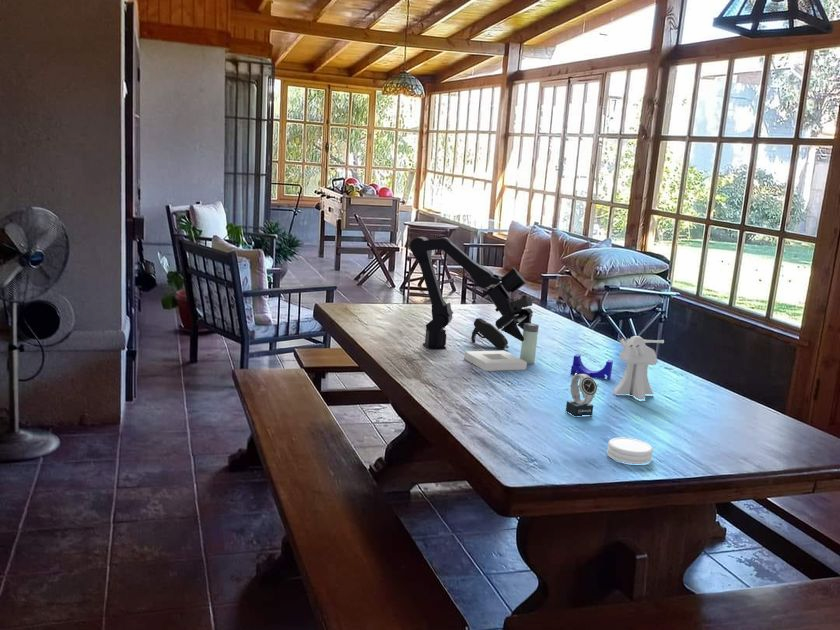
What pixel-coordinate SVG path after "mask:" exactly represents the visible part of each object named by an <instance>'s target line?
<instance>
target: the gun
mask: <svg viewBox="0 0 840 630" xmlns="http://www.w3.org/2000/svg"><path fill="white" fill-rule="evenodd" d="M473 326H474V328H473V330H472V333H471V336H470V337H471V342H472V343H476V338H477V336H478V337H479V338H480V339H486V340H487V341H488V342H489V343H490V344H492V345H493V346H494V347H495V348H496V349H497V350H500V351H503V350H505V349H507V350H508V349H509V347H510V346H509V345H508V344H509V341H508V339H507V338H506V337H505V335H504V334H503V333H502V331H501V330H500V329H499V330H498V328H497V327H496V326H495V325H493V324H491V323H489V322H487V321H486V320H484V319H483V318H480V317H479V318H475V320H474V321H473Z"/></svg>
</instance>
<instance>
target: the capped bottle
mask: <svg viewBox="0 0 840 630" xmlns="http://www.w3.org/2000/svg"><path fill="white" fill-rule="evenodd" d="M539 327H540V326H539V324H537V323H534V322H533V323H532V322H531V323H524V328H523V329H522V336H523V338H524V341H521V346H520V347H521V348H520V359H522V360H524V361H526V362H527V365H534V364H535V361H536V353H537V352H536V351H537V344H538V335H539V334H538V333H539Z"/></svg>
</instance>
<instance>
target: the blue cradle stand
mask: <svg viewBox="0 0 840 630" xmlns="http://www.w3.org/2000/svg"><path fill="white" fill-rule="evenodd" d="M581 357H582V356H581V354H578V353H577V354H574V355H573V361H572V365H571V369H570V375H572V374H575V373H577V374H587V375H588V376H591V378H595V377H597V378H596V379H600V378H602V379H601V380H605V379H604V378H605V377H607V379H608V380H607V381H609V380H611V379H612V378H611V377H612V372H613V371H612V369H613V366H614V365H613V363H614V360H611V359H608V360H607V361H606V362H605V365H604V366H603V368H602V369H600V370H591V369H589V368H587V367H586V366H585V365H584V364H583V362H582V358H581Z"/></svg>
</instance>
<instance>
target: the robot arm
mask: <svg viewBox="0 0 840 630" xmlns="http://www.w3.org/2000/svg"><path fill="white" fill-rule="evenodd" d="M409 249H410V251H411V253H412V255H413V257H414V259H415V260H416V261H417V263H418V265H419V266H420V270H421V273H422V277H423V280H424V284H425V286H426V289H427V293H428V296H429V300H430V302H431V318H432V320H430V321H429V322H427V323H426V324H425V335H424V336H425V337H424V342H423V343H422V345H423V346H425V347H426V348H427V349H434V350H436V349H437V350H439V349H441V350H442V349H447V346H446V345H447V344H446V343H447V333H446V332H447V331H446V330H445V329H446V327H447V326H448V325H449V324H450V323H451V321H452V319H453V314H454V311H453V310H452V307H451V306H452V305H451V302H447V303H446V301H445V300H444V298H443V295H442V291H441V288H440V285H439V282H438V278H437V275H436V272H435V269H434V266H433V261H432V251H438V250H441V251H443V252H444V253H446V254H447V255H448V256H449V257H450V258H451V259H452V260H454V261H455V262H456V264H458V265H459V266H461V267H462V268H463V269H464V270H465V271H466V272H467V273H468V274H469V275H470V278H471V279H472V280H473V281H474V283H475V284H476V285H477V286H478V287H480V288H481V289H483V290H482V294H481V298H482V299H487V298H489V299H490V301H491V302H492V304H493V305H494V307H496V308H494V311H496V312H499V314H500V315H501V316H500V317H499V318H498V319H497V320H496V321H495V323H494V324H495V325H494V327H495V328H497V329H498V330H499V331H500V332H504V333H506V334H508V335H510V336H512V337H513V338H514V339H517V340H518V341H520V342H522V341H524V338H523V333H522V332H521V331H520V329H522V330H523V328H524V323H532V317H533V314H534V311H533V310H532V309H531V307H532V306H533V300H534V299H533V298H532V297H531V296H530V295H529V294H525V295H522V296H521V298H519V299H517V300H516V299H515V298H513V297H510V295H509V293H512V294H513V293H515V292H517V291H518V290H519V289H521V288H522V287H523V286H524V285H526V284H527V281H526V279H525V277H524V276H523V275H522V274H521V273H520V272H519V271H518V270H516V268H515V267H512V268H511V269H510V270H509V271H507V273H506V274H504V275H498V274H494V272H493V271H492V270H491V269H489V268H487V267H485V266H483V265H481V264H480V263H478V262H476V261H475V260H473V259H472V258H471V257H470V256H468V255H467V254H466V253H465V252H464V251H463V250H462V249H461V248H459V247H458V246H457V245H456V244H455V243H454V242H452V240H451V239H450V238H449V237H446V236H445V237H441V238H439V237H438V238H427V237H425V236H418V237H415V238H413V239H412V240H411V242H410V244H409ZM494 285H496V286H494ZM487 288H488V289H487ZM484 289H485V290H484ZM486 289H487V290H486Z"/></svg>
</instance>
